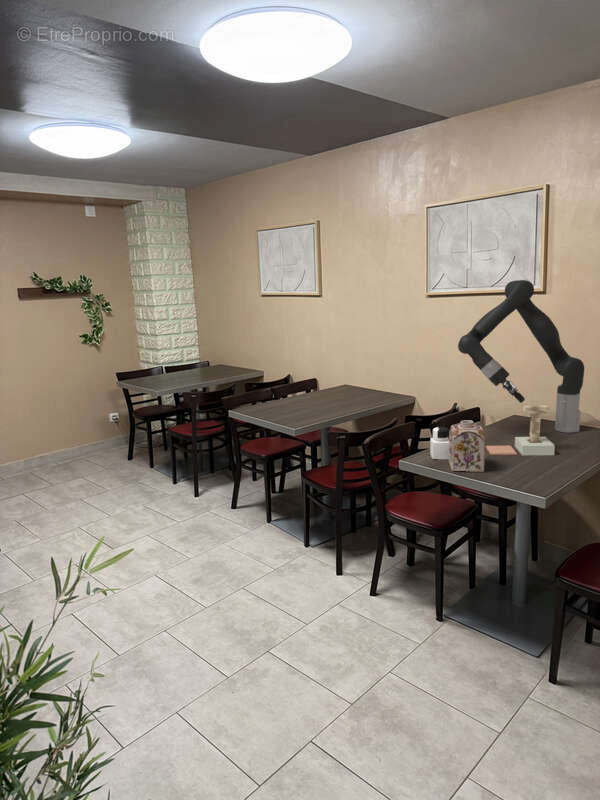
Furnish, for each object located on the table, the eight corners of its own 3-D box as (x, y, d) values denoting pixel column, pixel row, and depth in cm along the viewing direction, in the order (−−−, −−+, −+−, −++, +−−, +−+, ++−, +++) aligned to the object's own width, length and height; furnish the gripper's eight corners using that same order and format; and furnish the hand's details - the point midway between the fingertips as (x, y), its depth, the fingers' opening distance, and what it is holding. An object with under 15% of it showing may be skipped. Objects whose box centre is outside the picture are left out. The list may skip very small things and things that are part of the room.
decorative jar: (484, 472, 204) (485, 425, 200) (451, 472, 206) (452, 425, 202) (479, 461, 215) (480, 417, 211) (448, 461, 217) (449, 417, 213)
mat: (510, 446, 231) (510, 445, 231) (516, 454, 221) (516, 453, 221) (485, 447, 232) (485, 445, 232) (490, 454, 222) (490, 453, 222)
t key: (544, 449, 226) (546, 405, 222) (546, 451, 223) (549, 407, 219) (521, 449, 227) (523, 405, 223) (523, 451, 224) (525, 407, 220)
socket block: (544, 445, 230) (545, 436, 229) (554, 455, 218) (554, 445, 218) (514, 446, 232) (515, 436, 231) (522, 455, 220) (522, 445, 219)
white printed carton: (448, 453, 226) (448, 425, 224) (450, 459, 219) (451, 430, 217) (430, 454, 227) (430, 425, 224) (432, 459, 220) (432, 430, 217)
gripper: (501, 366, 224) (530, 395, 221) (502, 366, 237) (530, 394, 234) (486, 378, 226) (515, 408, 223) (488, 378, 239) (516, 405, 236)
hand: (523, 400), depth 228 cm, fingers open, 8 cm apart
